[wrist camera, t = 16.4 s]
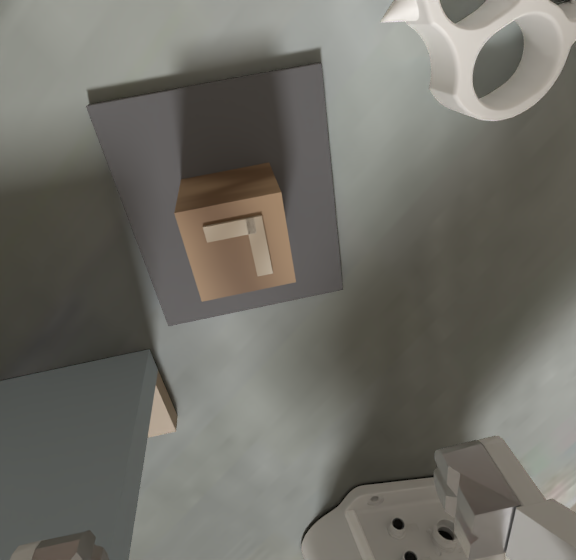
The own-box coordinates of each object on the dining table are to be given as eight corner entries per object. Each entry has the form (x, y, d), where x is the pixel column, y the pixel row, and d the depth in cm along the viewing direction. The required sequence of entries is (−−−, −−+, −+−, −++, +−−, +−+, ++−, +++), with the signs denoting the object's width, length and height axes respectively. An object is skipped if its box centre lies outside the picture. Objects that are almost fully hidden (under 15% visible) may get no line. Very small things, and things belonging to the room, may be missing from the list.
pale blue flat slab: (149, 349, 30) (108, 560, 18) (177, 415, 34) (158, 628, 22) (-114, 405, 29) (-337, 666, 17) (-56, 467, 33) (-207, 718, 21)
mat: (318, 62, 22) (321, 63, 22) (340, 285, 30) (342, 289, 29) (89, 104, 22) (86, 106, 21) (169, 320, 29) (168, 326, 29)
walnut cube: (269, 162, 24) (281, 193, 20) (282, 241, 27) (296, 283, 22) (181, 179, 24) (173, 214, 19) (203, 257, 26) (201, 303, 22)
